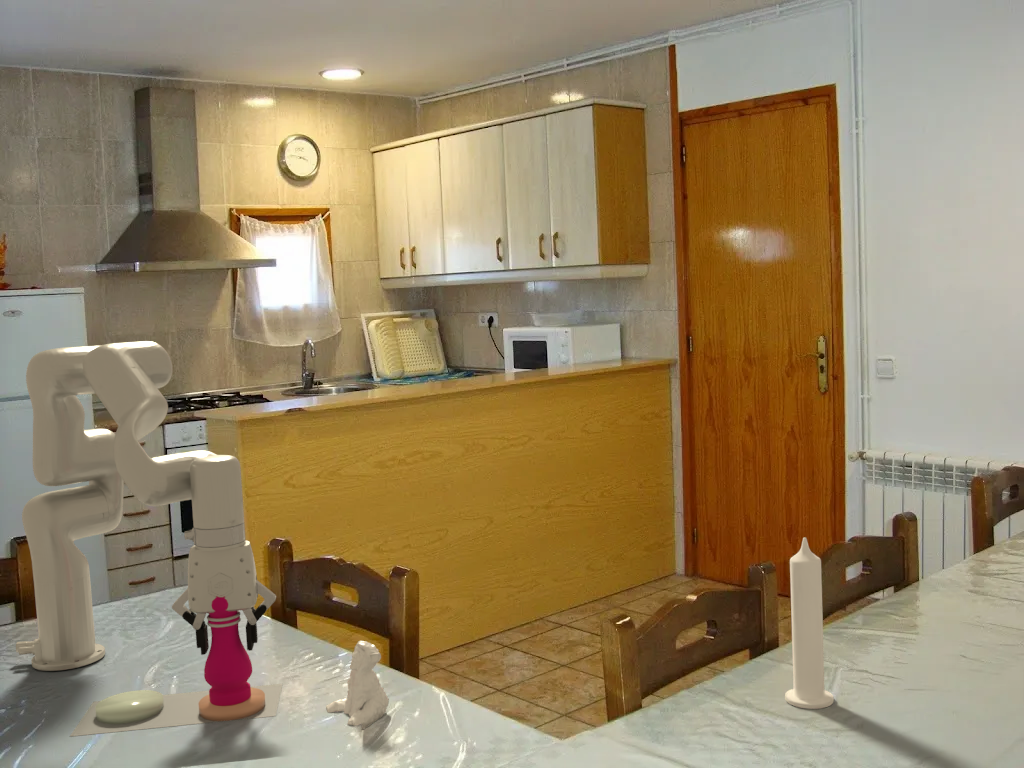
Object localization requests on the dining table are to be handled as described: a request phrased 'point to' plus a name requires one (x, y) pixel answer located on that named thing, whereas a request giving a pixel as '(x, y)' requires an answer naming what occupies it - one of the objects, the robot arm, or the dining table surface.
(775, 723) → the dining table surface
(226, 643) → the pepper mill
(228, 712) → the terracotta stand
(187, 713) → the board
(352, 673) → the sitting furry creature
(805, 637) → the candle
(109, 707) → the pale green domed disc
